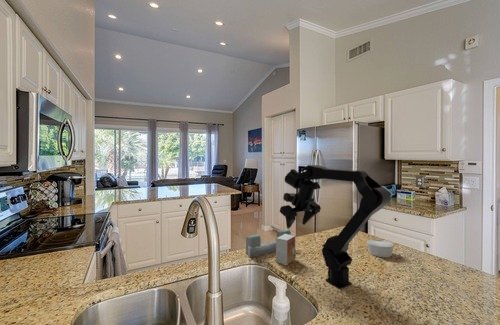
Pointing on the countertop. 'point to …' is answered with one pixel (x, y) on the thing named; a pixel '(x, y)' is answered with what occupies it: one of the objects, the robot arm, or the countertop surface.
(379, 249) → the ramekin
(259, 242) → the block
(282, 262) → the small box
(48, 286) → the countertop surface
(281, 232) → the block
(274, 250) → the rail
